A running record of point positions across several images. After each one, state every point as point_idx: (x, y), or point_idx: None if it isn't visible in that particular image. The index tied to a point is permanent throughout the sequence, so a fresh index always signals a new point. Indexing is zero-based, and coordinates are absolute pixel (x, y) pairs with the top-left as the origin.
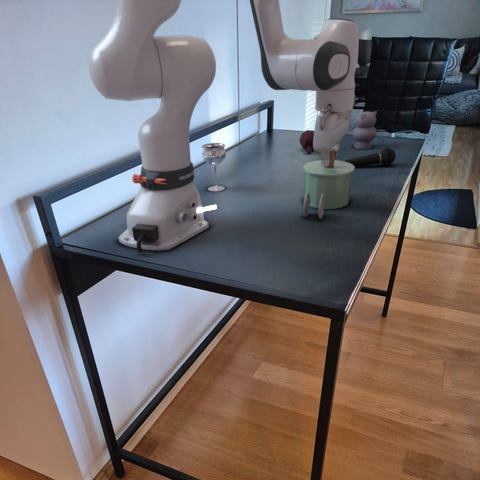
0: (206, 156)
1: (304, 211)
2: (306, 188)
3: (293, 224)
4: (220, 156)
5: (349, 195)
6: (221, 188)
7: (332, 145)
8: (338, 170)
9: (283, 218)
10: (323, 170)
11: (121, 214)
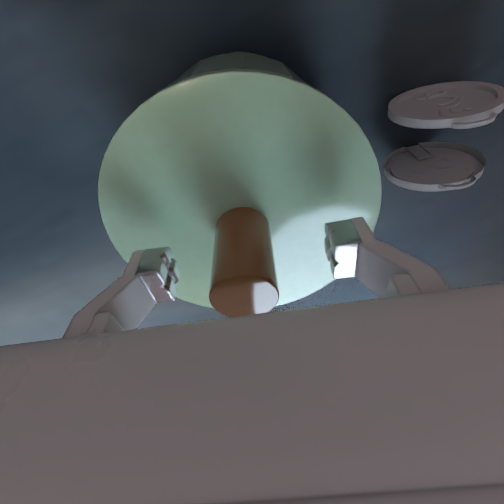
0: None
1: (473, 148)
2: None
3: (486, 151)
4: None
5: (206, 62)
6: None
7: (475, 300)
8: (285, 159)
9: (434, 198)
10: (315, 225)
11: None
